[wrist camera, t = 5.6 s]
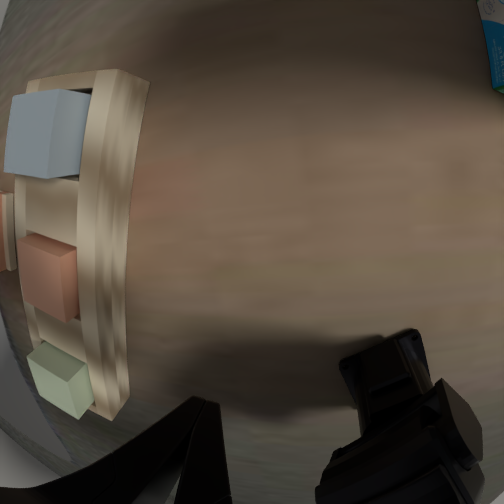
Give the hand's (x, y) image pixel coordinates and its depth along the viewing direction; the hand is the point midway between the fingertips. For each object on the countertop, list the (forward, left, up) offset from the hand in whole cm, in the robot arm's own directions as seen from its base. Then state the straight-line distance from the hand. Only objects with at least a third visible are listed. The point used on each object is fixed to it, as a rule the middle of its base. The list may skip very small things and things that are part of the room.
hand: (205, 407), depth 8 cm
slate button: (+15, +6, -8) cm, 18 cm away
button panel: (+7, +13, -12) cm, 19 cm away
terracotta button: (+7, +13, -10) cm, 18 cm away
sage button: (-1, +19, -8) cm, 21 cm away
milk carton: (+6, -27, -12) cm, 30 cm away
